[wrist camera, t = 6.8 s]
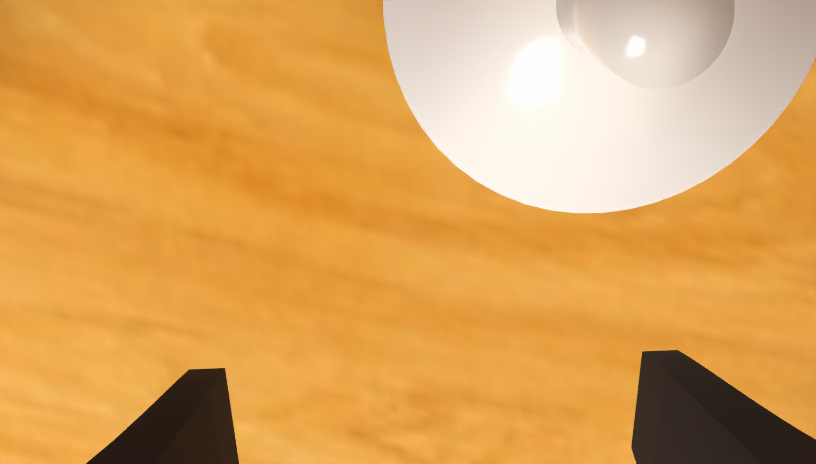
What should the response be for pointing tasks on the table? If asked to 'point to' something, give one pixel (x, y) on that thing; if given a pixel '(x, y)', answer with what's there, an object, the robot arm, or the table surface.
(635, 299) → the table surface
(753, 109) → the lid
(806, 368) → the table surface
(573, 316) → the table surface
